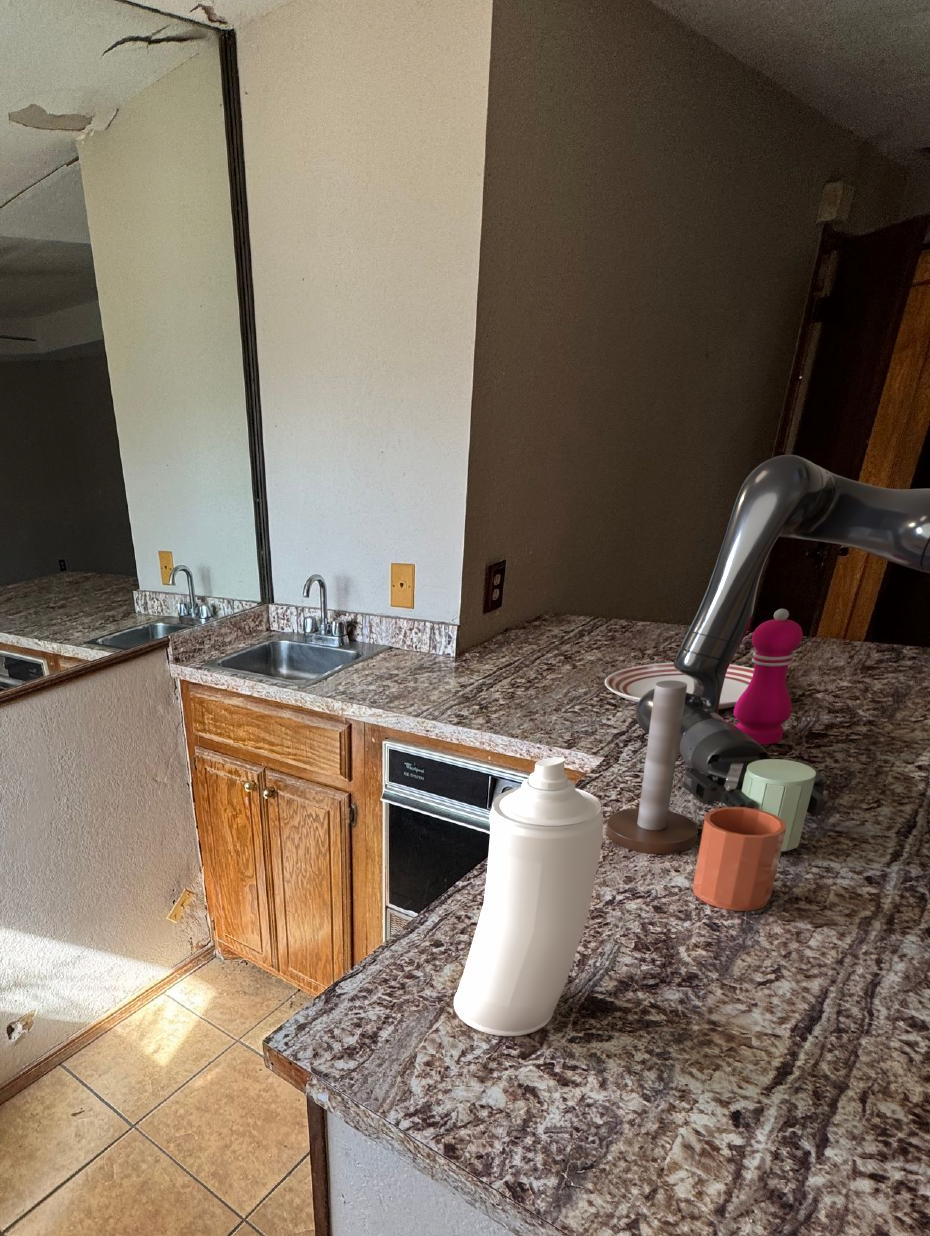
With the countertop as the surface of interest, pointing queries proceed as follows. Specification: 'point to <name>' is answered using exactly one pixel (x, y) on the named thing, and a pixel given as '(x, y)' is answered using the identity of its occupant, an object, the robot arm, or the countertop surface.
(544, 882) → the spray can
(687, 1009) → the countertop surface
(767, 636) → the pepper mill
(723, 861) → the cup
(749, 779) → the cup
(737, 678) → the dinner plate
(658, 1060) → the countertop surface
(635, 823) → the towel holder
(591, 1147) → the countertop surface
